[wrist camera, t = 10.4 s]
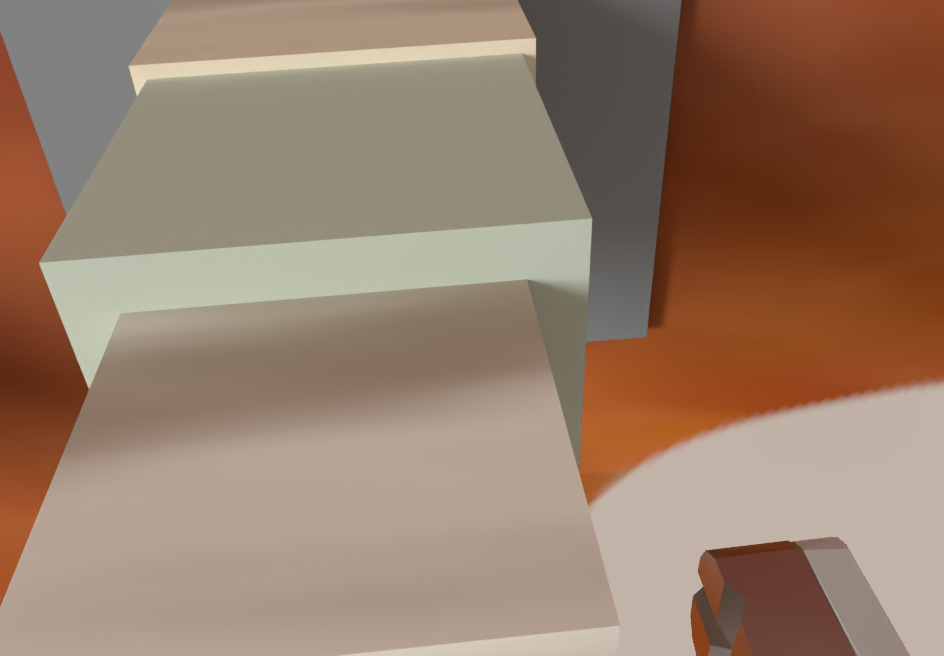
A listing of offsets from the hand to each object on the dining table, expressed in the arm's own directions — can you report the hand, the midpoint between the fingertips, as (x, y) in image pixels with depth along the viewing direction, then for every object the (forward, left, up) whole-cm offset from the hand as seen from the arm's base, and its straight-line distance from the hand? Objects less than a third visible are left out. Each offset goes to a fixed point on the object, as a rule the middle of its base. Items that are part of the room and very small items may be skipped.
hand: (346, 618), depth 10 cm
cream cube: (0, 0, -3) cm, 3 cm away
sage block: (0, 0, -9) cm, 9 cm away
